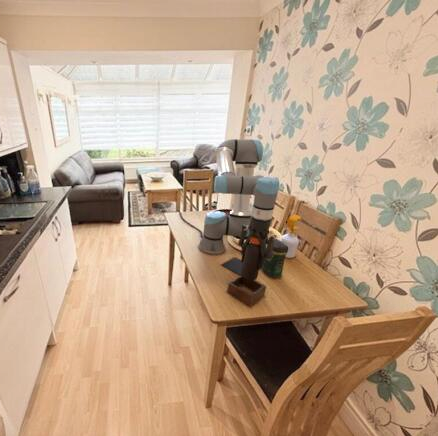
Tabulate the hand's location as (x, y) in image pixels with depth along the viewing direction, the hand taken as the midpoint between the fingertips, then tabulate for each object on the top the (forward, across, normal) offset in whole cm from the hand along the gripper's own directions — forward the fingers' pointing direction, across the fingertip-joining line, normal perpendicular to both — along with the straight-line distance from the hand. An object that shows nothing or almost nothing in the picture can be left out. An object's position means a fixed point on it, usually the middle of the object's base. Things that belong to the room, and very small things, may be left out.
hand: (251, 264), depth 104 cm
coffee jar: (+16, -1, +25) cm, 30 cm away
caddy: (+16, 0, 0) cm, 16 cm away
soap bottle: (+17, -5, +50) cm, 53 cm away
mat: (+16, -15, +16) cm, 27 cm away
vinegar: (+6, 0, 0) cm, 6 cm away
